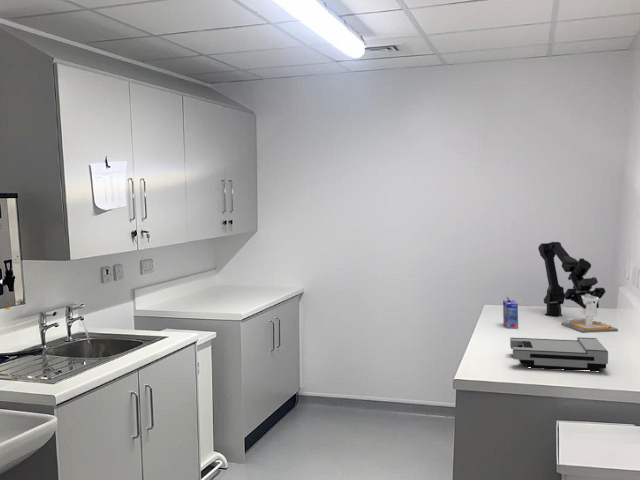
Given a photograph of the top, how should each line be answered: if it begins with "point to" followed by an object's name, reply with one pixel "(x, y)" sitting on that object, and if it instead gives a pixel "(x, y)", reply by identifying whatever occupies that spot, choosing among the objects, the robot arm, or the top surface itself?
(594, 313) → the white piece
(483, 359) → the top surface
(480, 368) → the top surface
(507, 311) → the ink cartridge box
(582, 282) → the robot arm
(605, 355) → the game console
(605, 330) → the panel
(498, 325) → the top surface
